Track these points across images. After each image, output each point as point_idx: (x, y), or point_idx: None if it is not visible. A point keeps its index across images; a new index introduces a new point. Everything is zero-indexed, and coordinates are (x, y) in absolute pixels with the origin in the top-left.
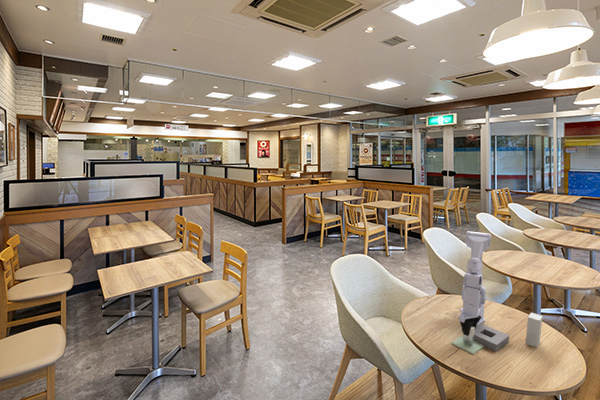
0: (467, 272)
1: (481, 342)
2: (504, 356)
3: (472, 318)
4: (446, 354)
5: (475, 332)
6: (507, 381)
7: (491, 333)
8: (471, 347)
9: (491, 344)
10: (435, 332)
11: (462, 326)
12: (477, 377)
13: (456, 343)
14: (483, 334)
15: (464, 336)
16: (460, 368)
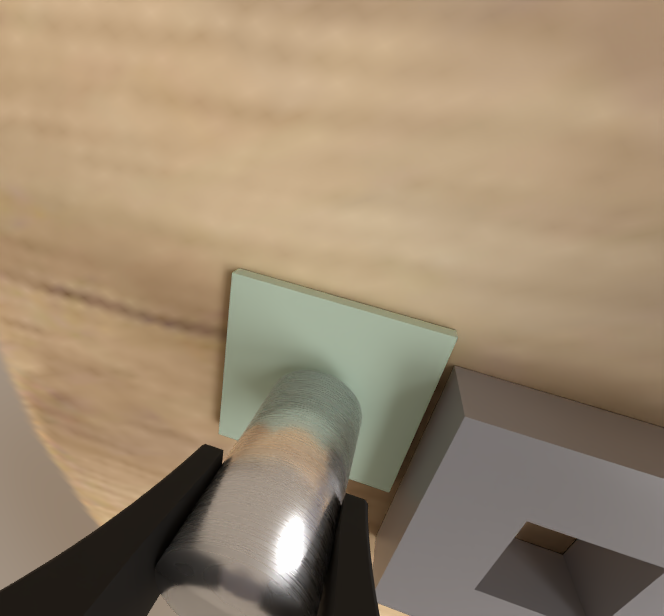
0: None
1: (407, 487)
2: None
3: None
4: (65, 272)
5: (502, 490)
6: None
7: (610, 589)
8: None
9: (382, 558)
10: (346, 13)
11: (98, 546)
12: (46, 446)
13: (250, 314)
14: (503, 547)
15: (247, 428)
16: (27, 374)
